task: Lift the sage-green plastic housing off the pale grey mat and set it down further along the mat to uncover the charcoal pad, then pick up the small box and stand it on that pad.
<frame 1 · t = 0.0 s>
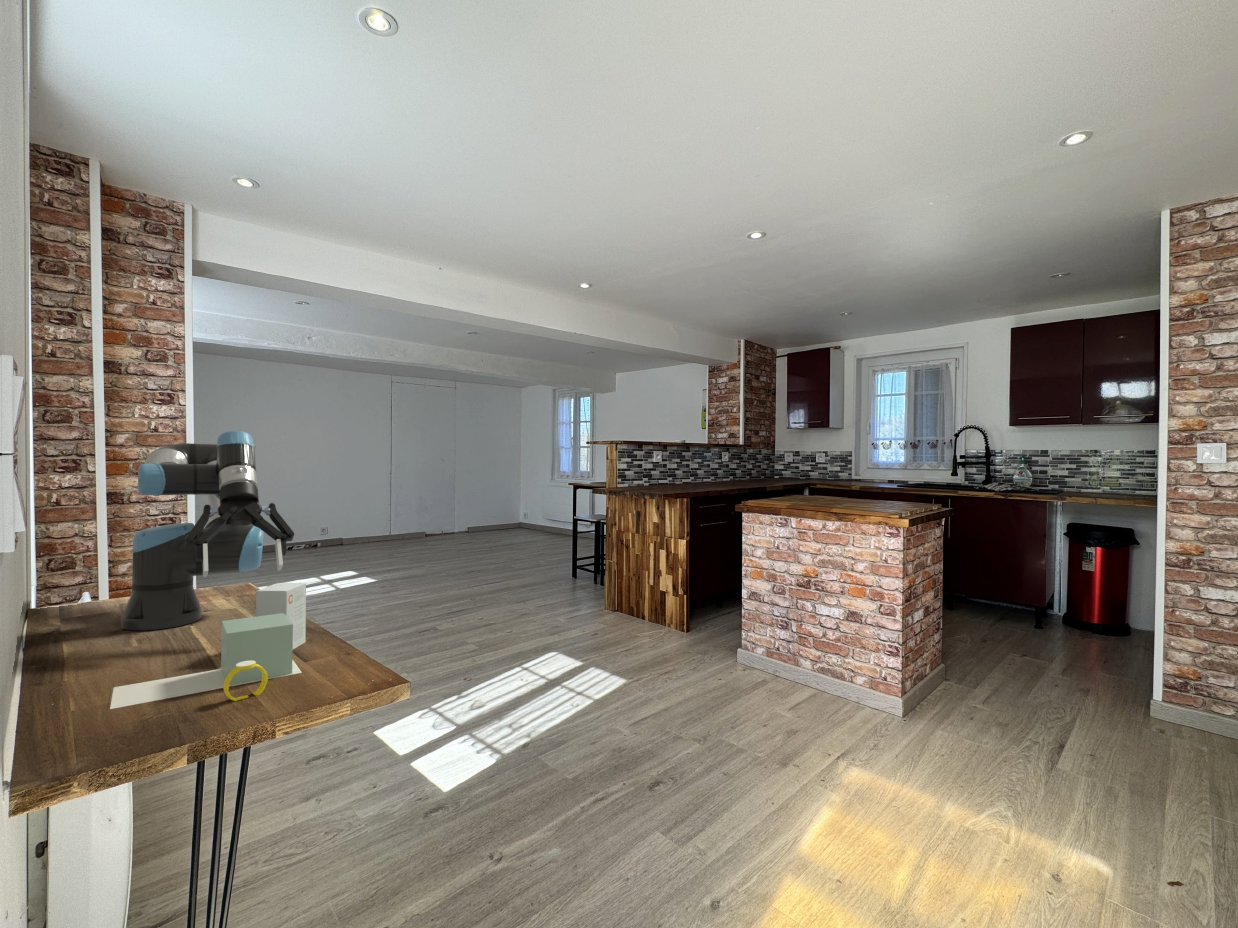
hand: (244, 570, 125), 15 cm above the table, tool tilted 35°, fingers open, 13 cm apart
small box: (281, 649, 121), on the table
mat: (211, 681, 102), on the table
watch: (245, 699, 95), on the table
housing: (256, 671, 106), resting on mat
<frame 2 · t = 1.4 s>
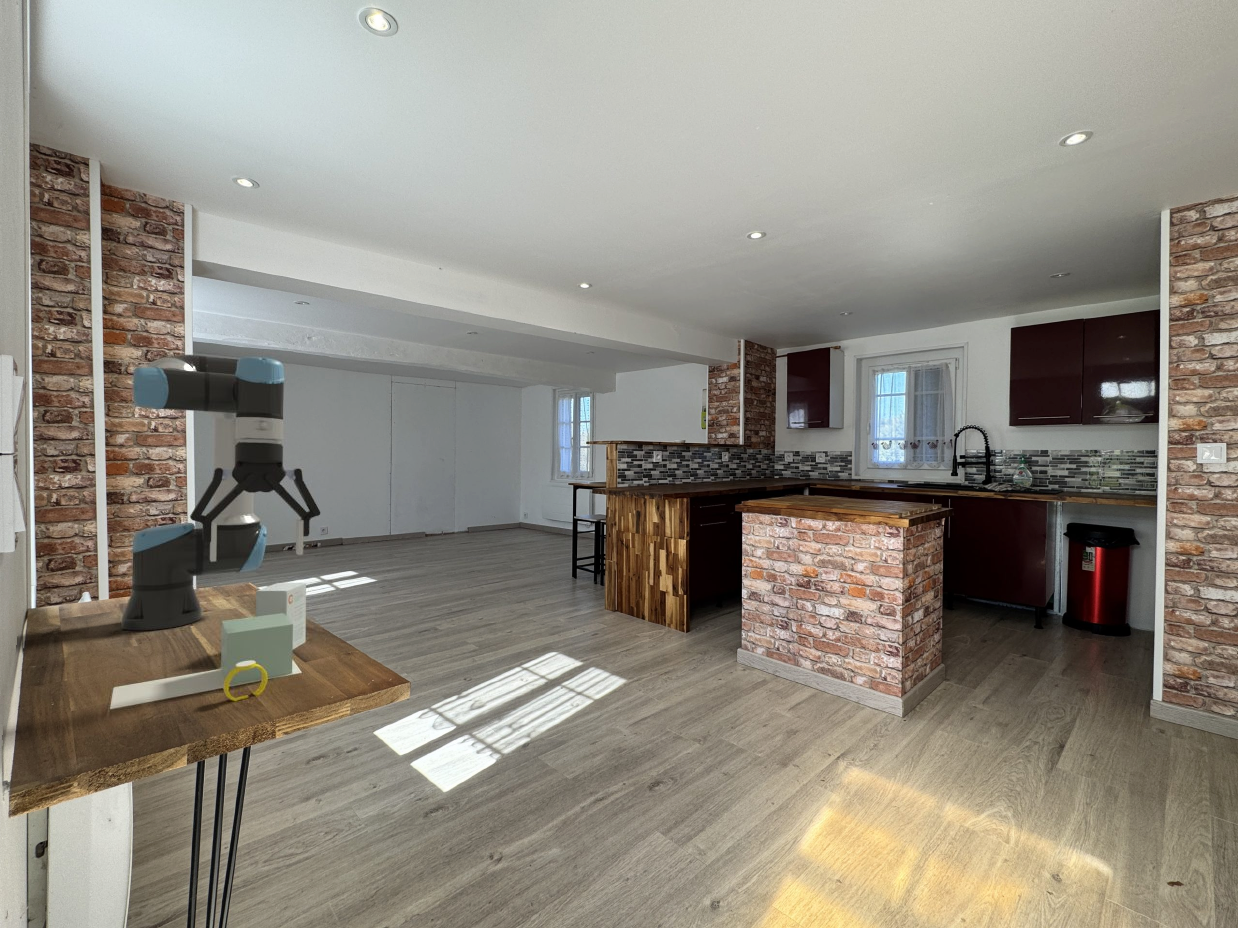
hand: (257, 557, 107), 21 cm above the table, tool pointing down, fingers open, 13 cm apart
nothing on the table moved.
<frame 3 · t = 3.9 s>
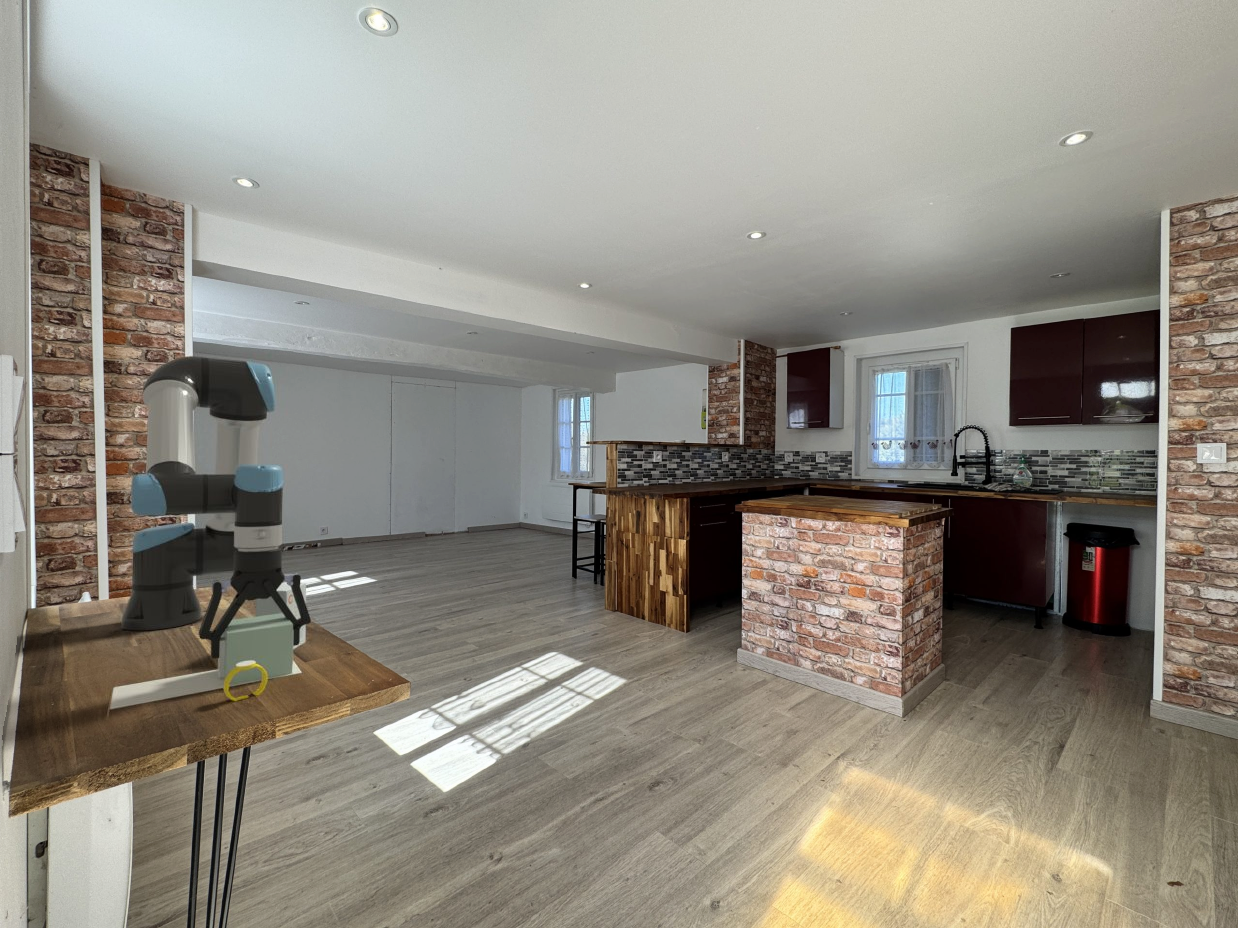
hand: (256, 669, 106), 1 cm above the table, tool pointing down, fingers closed on housing, 10 cm apart
housing: (256, 671, 106), resting on mat, touching gripper
everything else where it was.
when the fingers open (2 cm above the table, at t = 10.2 s): housing drops 1 cm, resting on mat.
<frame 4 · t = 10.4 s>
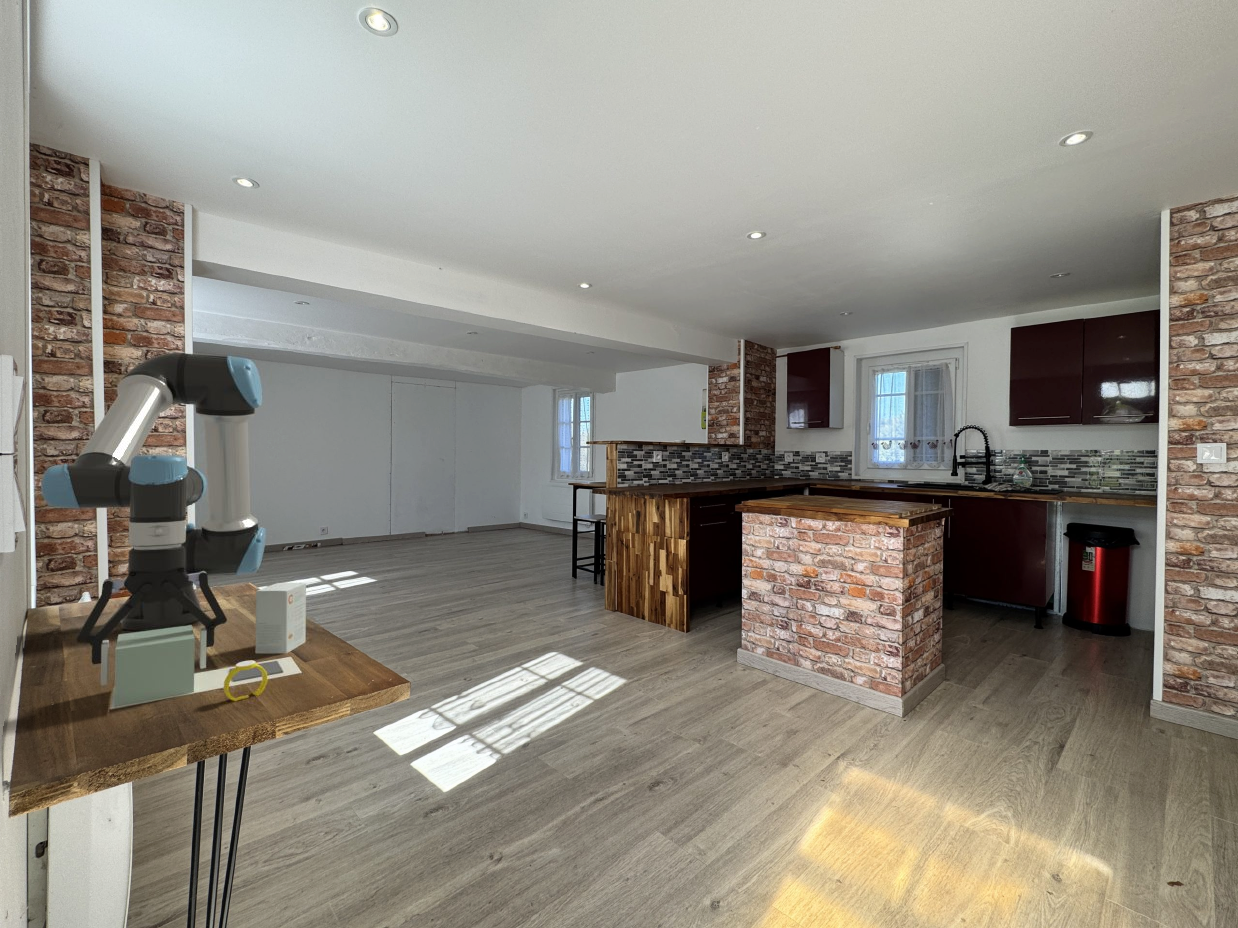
hand: (155, 674, 97), 3 cm above the table, tool pointing down, fingers open, 12 cm apart
housing: (155, 689, 97), resting on mat
everything else where it was.
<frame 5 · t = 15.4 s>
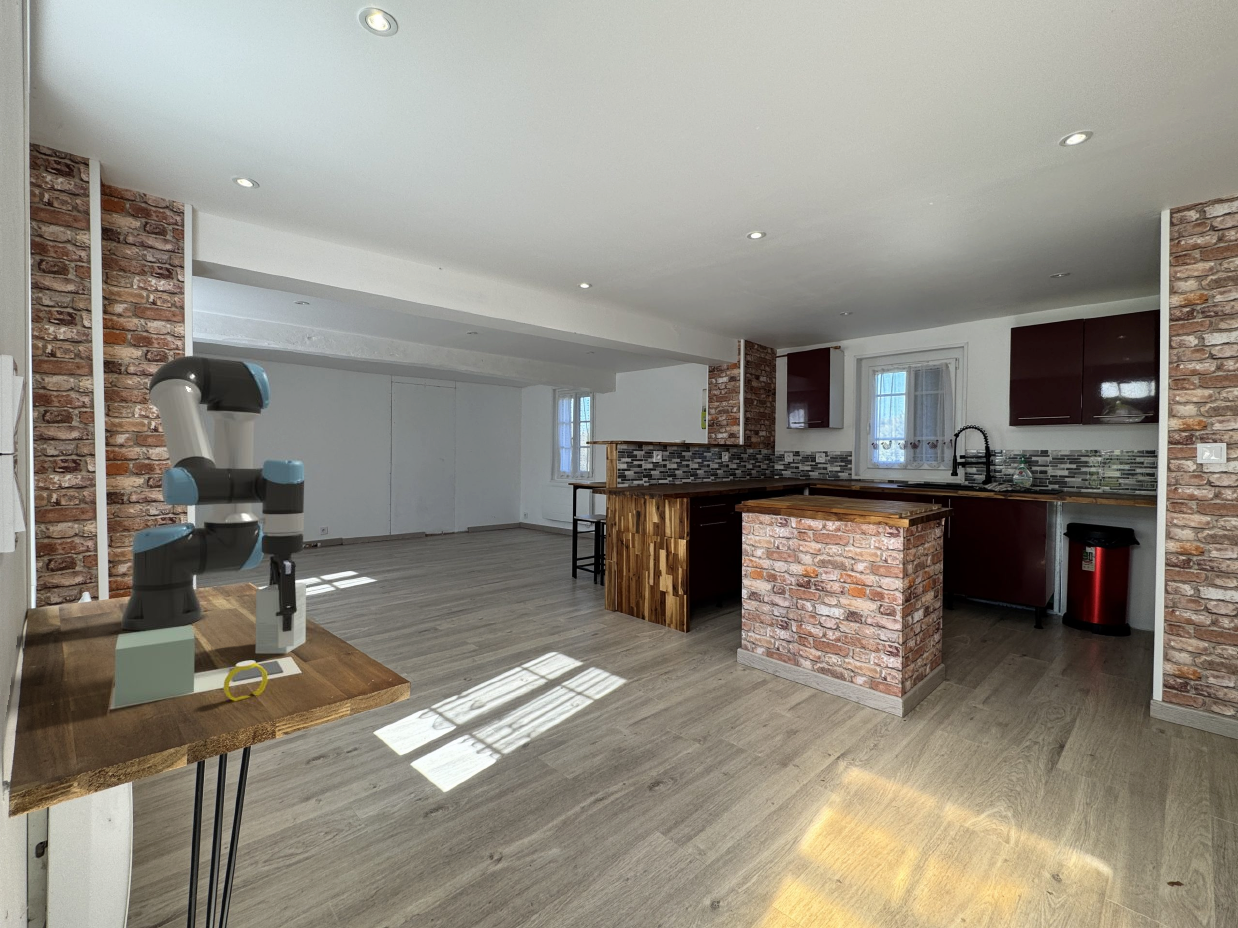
hand: (281, 640, 121), 2 cm above the table, tool pointing down, fingers closed on small box, 10 cm apart
small box: (281, 649, 121), on the table, touching gripper
everything else where it was.
when the fingers open (4 cm above the table, at t = 21.9 s): small box drops 1 cm, resting on mat.
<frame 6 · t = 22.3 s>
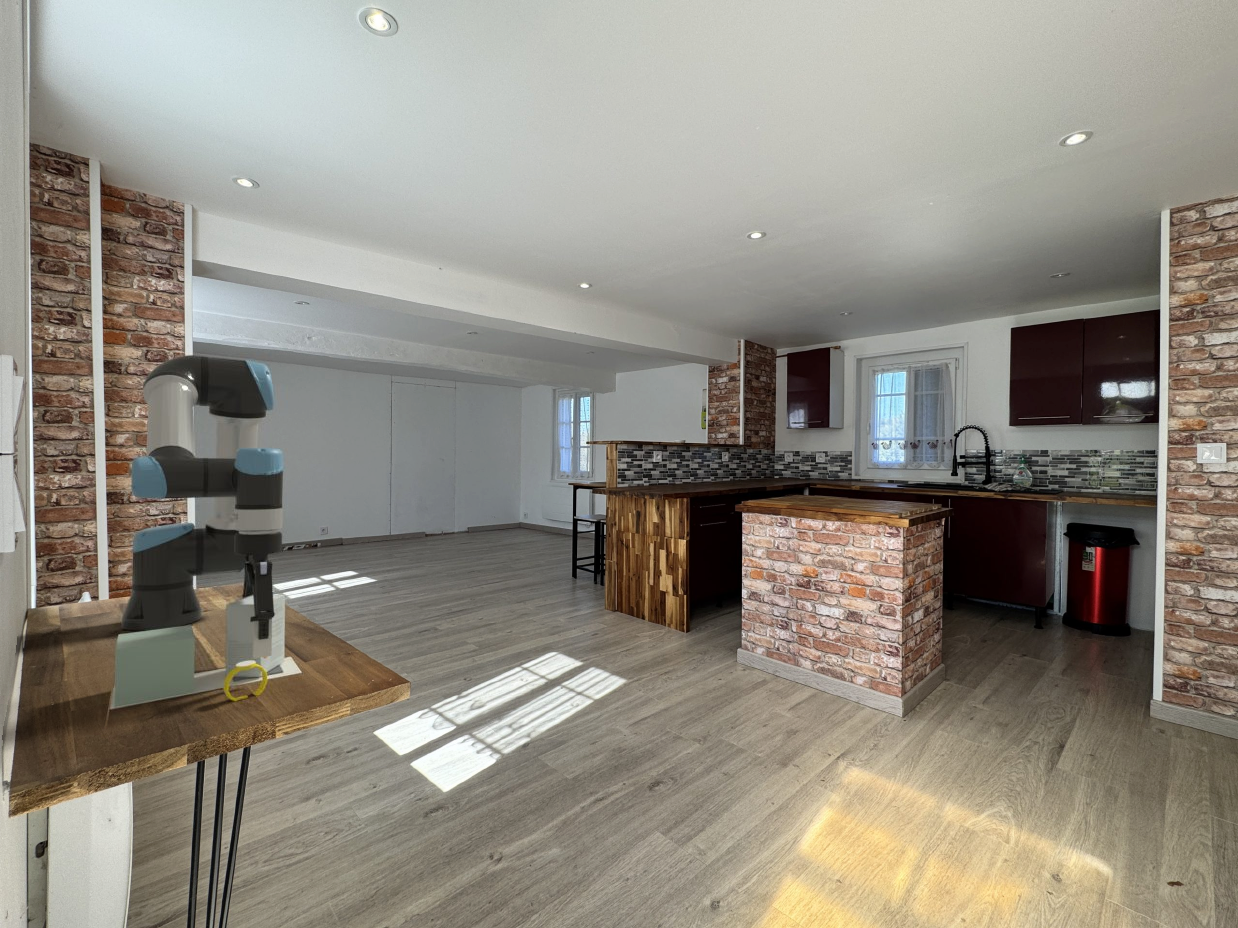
hand: (256, 647, 106), 5 cm above the table, tool pointing down, fingers open, 13 cm apart
small box: (255, 670, 107), resting on mat
everything else where it was.
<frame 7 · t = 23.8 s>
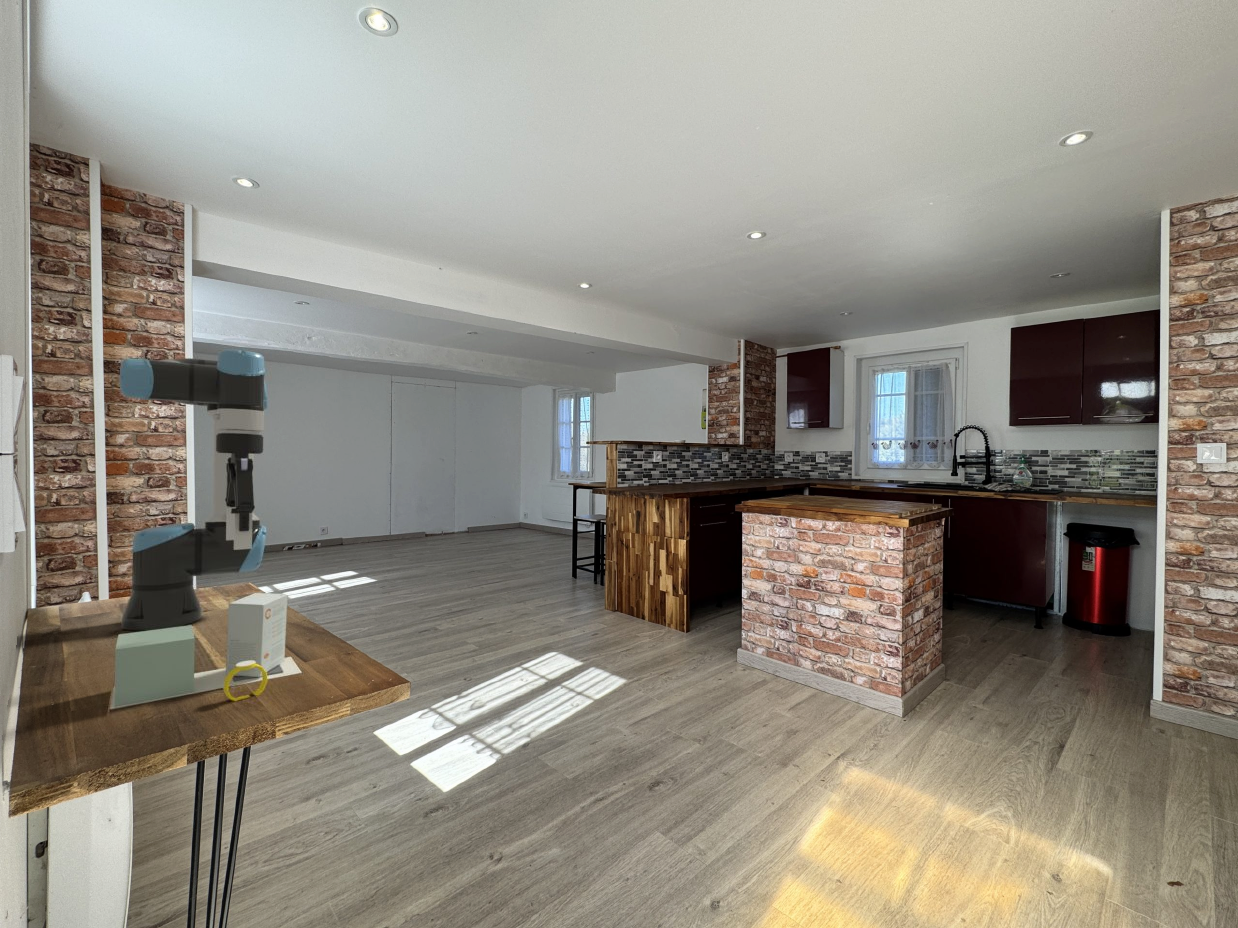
hand: (238, 544, 110), 23 cm above the table, tool pointing down, fingers open, 13 cm apart
nothing on the table moved.
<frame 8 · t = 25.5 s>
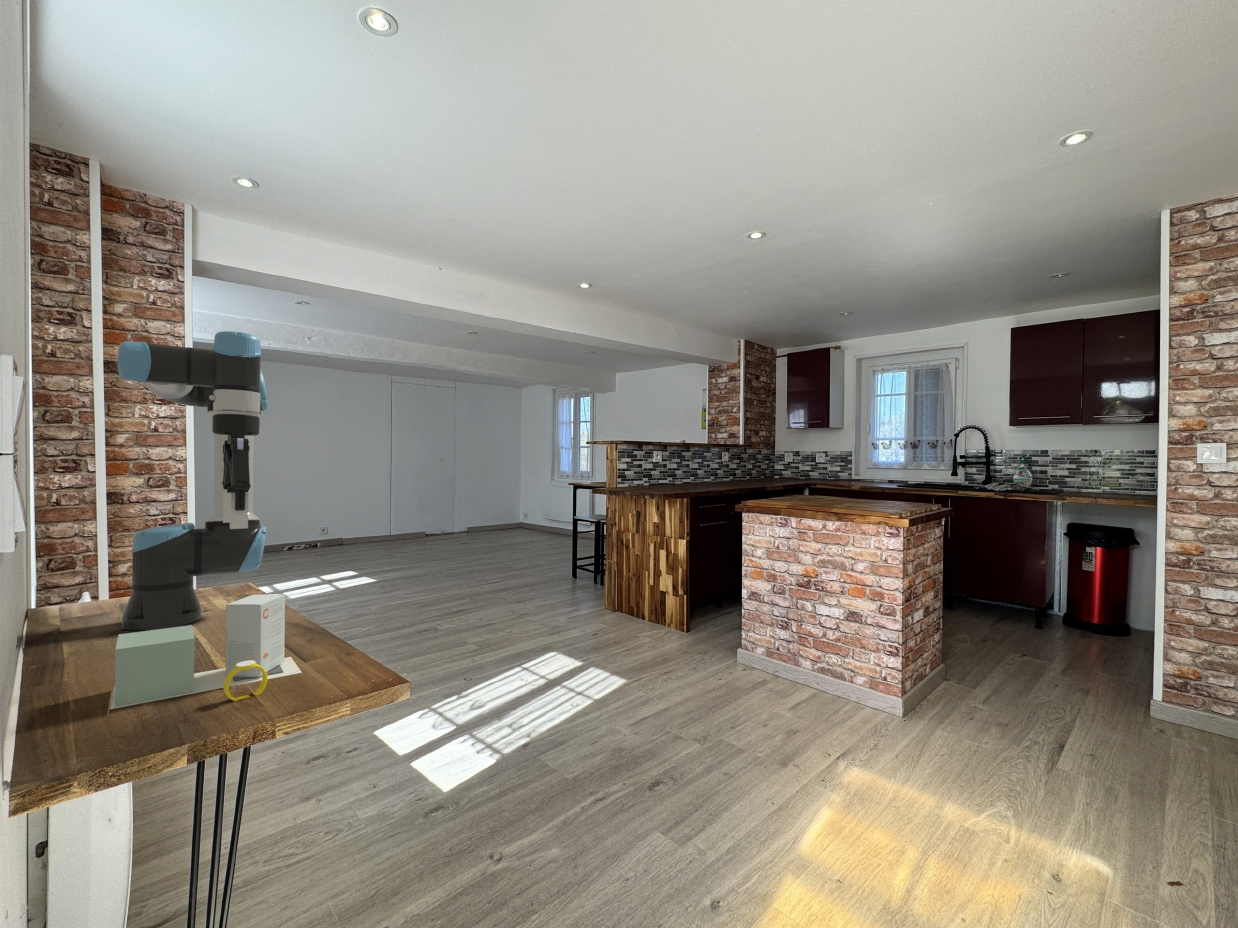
hand: (234, 525, 110), 27 cm above the table, tool pointing down, fingers open, 13 cm apart
nothing on the table moved.
at the end: small box 0.4 cm from the target spot on the mat, point 0.4 cm above the mat's base; small box tilted 0°; housing moved 14.5 cm from its start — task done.
